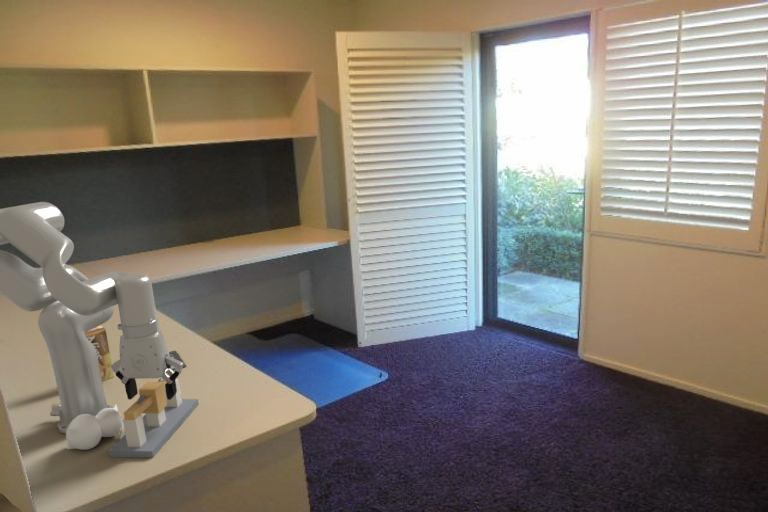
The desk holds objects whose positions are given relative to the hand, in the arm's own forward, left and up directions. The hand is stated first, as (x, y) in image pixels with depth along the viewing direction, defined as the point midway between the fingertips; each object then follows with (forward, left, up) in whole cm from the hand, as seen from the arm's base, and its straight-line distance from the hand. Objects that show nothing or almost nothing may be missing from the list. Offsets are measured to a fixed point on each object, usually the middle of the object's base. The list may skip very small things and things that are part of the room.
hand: (152, 396), depth 130 cm
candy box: (-32, +25, -9) cm, 42 cm away
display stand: (0, 0, -8) cm, 8 cm away
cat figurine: (-11, -7, -9) cm, 15 cm away
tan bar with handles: (0, 0, -3) cm, 3 cm away
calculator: (-18, +36, -9) cm, 41 cm away
